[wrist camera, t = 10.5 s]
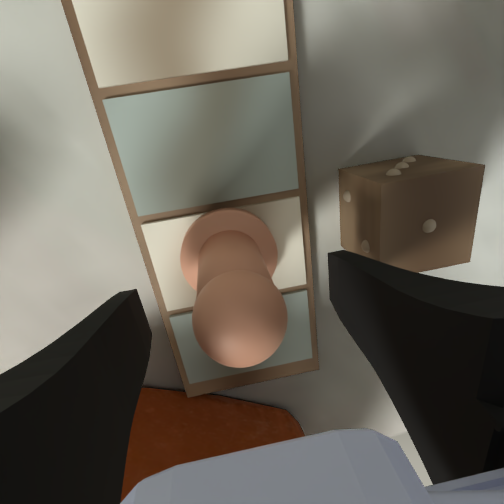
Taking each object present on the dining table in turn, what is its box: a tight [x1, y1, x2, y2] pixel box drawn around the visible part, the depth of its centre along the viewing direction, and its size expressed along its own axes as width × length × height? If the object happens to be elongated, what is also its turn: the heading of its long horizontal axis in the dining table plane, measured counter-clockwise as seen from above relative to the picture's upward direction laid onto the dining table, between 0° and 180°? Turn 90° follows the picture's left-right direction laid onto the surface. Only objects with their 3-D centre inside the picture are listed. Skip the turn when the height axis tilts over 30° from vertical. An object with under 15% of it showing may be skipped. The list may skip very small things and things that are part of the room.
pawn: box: [180, 208, 288, 368], centre depth 11 cm, size 4×4×7 cm
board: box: [61, 0, 319, 398], centre depth 14 cm, size 8×22×1 cm, turn 8°
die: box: [338, 155, 485, 273], centre depth 14 cm, size 4×4×4 cm
